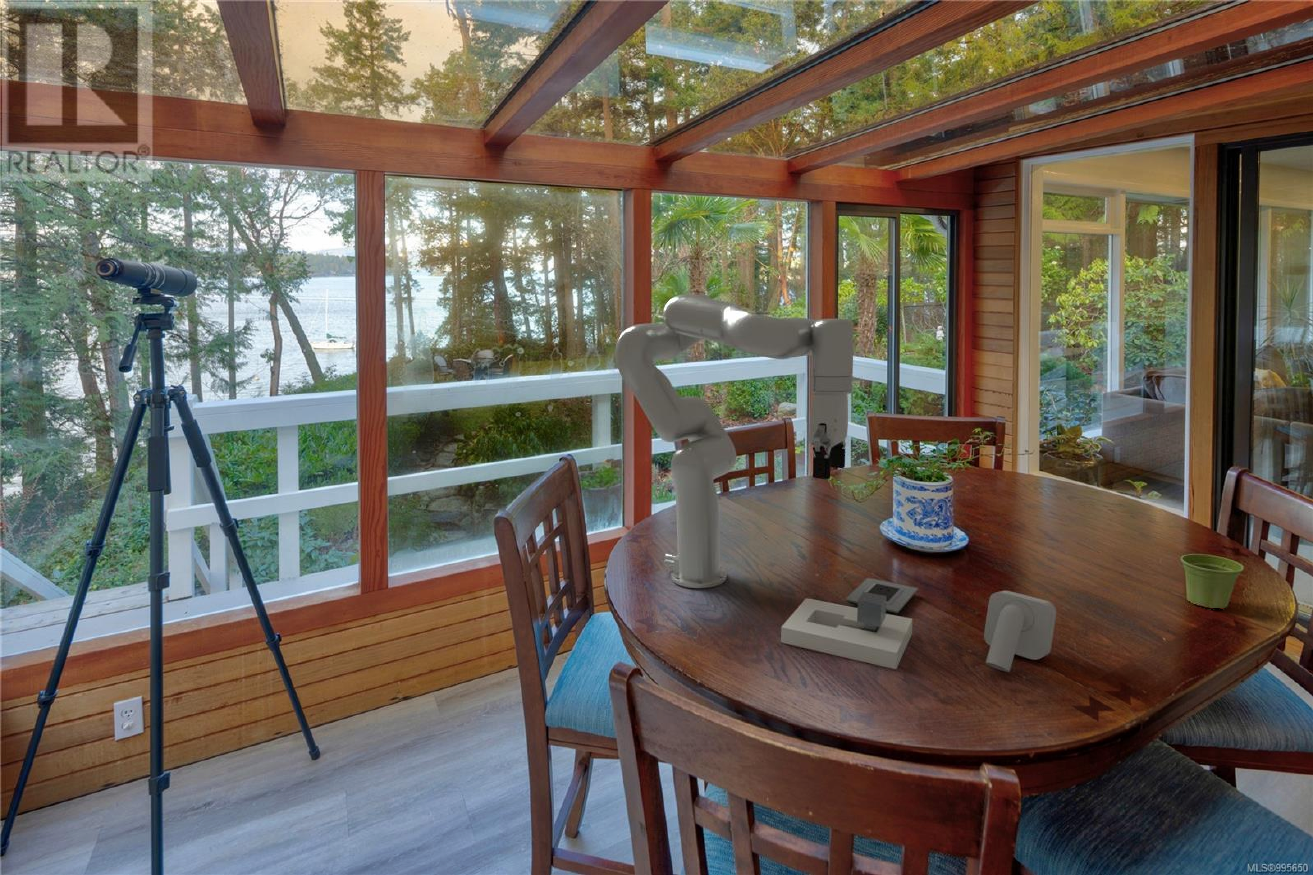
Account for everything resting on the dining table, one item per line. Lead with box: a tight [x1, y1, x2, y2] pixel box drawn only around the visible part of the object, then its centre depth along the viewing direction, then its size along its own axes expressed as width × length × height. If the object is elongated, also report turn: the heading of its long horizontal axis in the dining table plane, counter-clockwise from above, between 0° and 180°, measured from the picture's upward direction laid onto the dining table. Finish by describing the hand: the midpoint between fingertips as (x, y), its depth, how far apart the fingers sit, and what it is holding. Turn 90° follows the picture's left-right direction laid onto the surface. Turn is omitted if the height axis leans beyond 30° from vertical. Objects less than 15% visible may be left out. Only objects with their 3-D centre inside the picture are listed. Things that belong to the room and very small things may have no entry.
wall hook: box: [983, 590, 1057, 673], centre depth 111 cm, size 10×12×12 cm
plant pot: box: [1180, 553, 1245, 608], centre depth 129 cm, size 9×9×9 cm
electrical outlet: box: [844, 577, 919, 615], centre depth 136 cm, size 13×10×2 cm
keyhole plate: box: [780, 597, 913, 670], centre depth 121 cm, size 20×14×3 cm
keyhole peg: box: [857, 592, 887, 633], centre depth 118 cm, size 4×4×9 cm
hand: (829, 472), depth 128 cm, fingers open, 9 cm apart
